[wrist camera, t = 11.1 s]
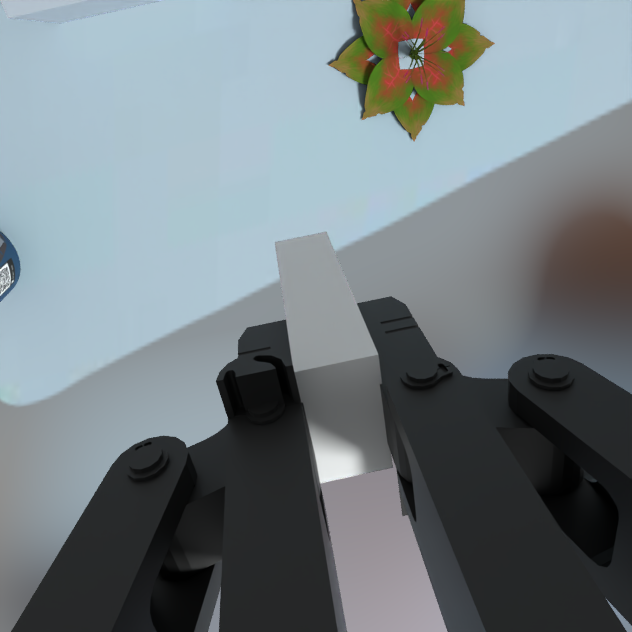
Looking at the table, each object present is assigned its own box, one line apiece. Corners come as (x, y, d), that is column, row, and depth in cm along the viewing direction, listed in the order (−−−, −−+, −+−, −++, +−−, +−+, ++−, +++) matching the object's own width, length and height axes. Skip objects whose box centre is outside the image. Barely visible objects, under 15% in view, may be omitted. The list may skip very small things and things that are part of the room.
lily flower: (517, 39, 40) (548, 39, 35) (412, 166, 43) (429, 179, 39) (406, -85, 35) (427, -102, 31) (299, 68, 39) (305, 70, 35)
